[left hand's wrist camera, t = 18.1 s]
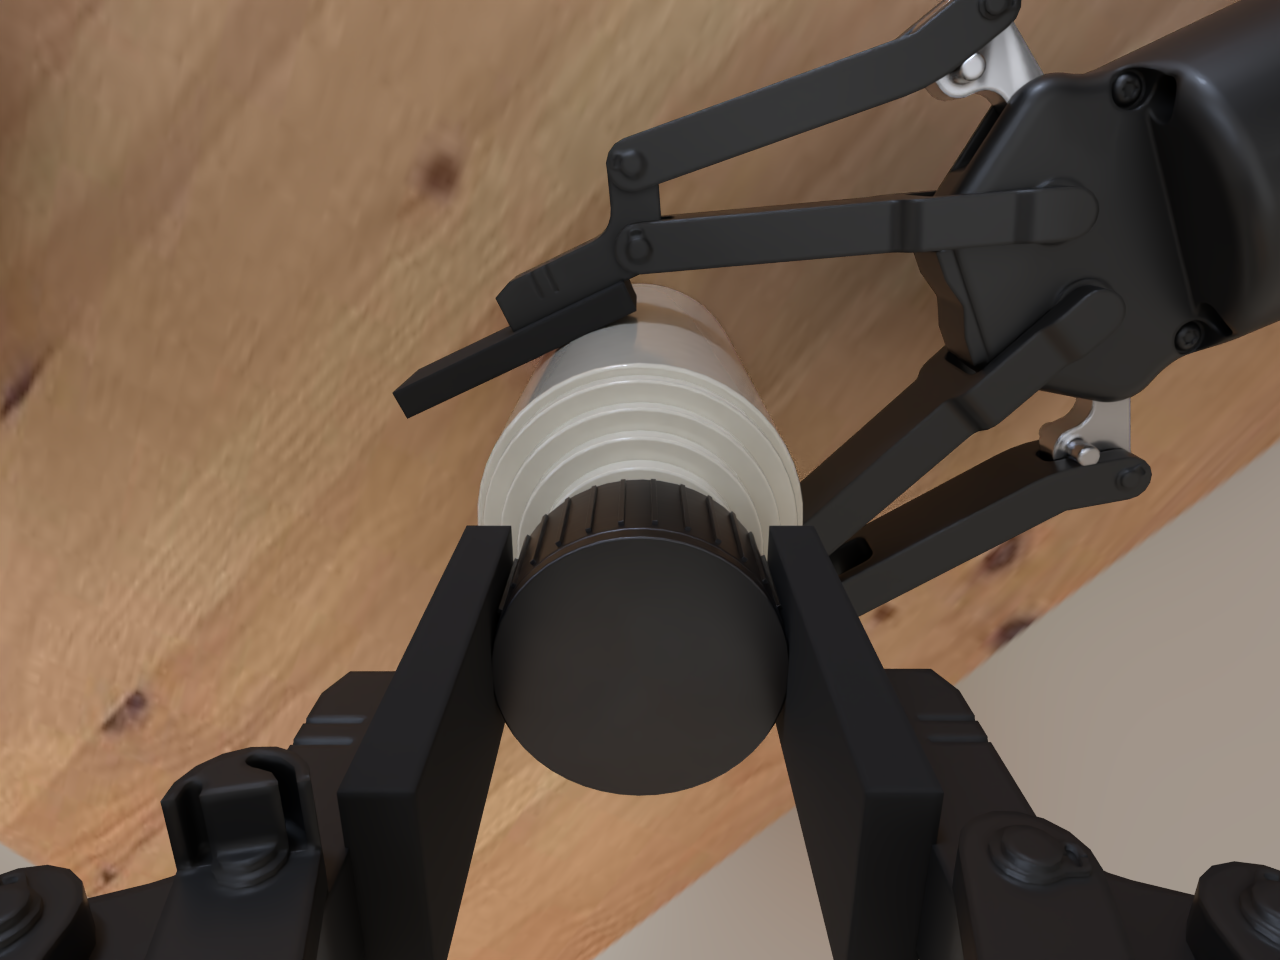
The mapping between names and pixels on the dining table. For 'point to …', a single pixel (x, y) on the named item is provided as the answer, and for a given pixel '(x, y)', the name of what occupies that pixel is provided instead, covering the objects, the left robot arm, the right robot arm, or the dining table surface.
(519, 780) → the dining table surface
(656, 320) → the bottle
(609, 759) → the cap
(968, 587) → the dining table surface
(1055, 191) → the right robot arm
